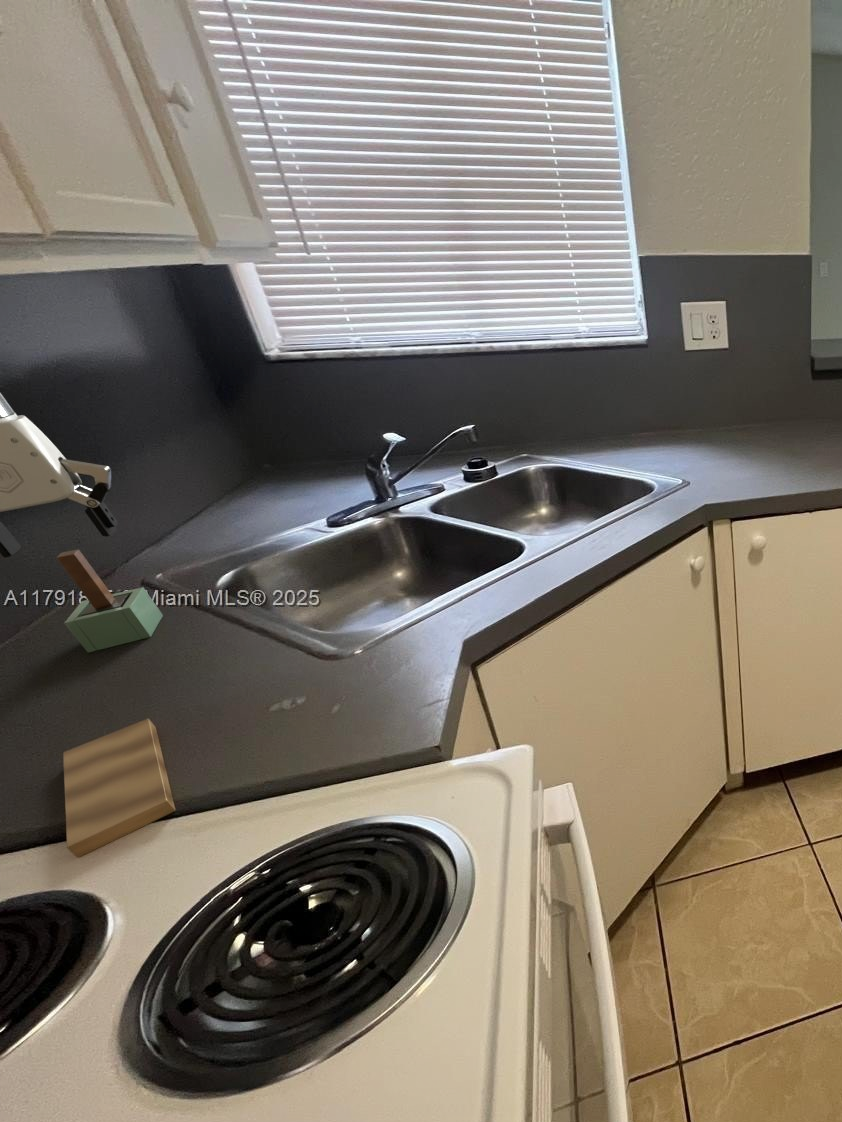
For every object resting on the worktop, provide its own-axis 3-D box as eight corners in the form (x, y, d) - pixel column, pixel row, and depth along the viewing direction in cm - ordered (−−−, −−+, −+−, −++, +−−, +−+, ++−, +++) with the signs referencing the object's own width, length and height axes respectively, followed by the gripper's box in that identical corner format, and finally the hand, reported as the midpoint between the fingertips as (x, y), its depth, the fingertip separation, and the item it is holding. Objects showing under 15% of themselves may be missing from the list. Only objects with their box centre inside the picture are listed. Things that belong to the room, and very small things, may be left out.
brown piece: (104, 644, 88) (41, 563, 81) (113, 631, 91) (53, 551, 84) (141, 635, 90) (82, 554, 83) (148, 622, 93) (92, 543, 86)
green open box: (87, 653, 86) (63, 623, 84) (103, 630, 91) (81, 600, 89) (151, 637, 89) (129, 607, 86) (163, 615, 94) (143, 586, 92)
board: (72, 762, 68) (62, 752, 67) (156, 727, 72) (148, 718, 71) (77, 858, 57) (66, 847, 56) (176, 811, 61) (167, 800, 60)
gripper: (-166, 435, 67) (-43, 573, 77) (49, 405, 74) (139, 535, 83) (-124, 420, 73) (-14, 550, 82) (72, 393, 80) (154, 516, 89)
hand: (63, 542), depth 83 cm, fingers open, 9 cm apart
